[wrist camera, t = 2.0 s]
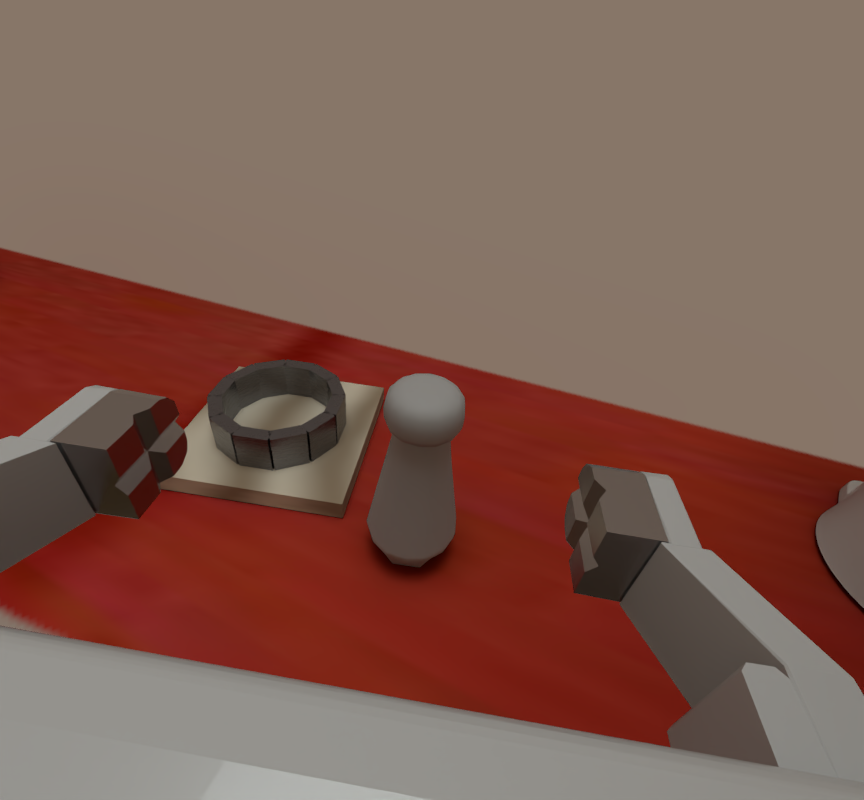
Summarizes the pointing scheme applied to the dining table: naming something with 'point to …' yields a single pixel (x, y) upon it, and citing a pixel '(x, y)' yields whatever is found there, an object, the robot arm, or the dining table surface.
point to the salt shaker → (417, 470)
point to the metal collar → (282, 443)
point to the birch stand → (291, 487)
